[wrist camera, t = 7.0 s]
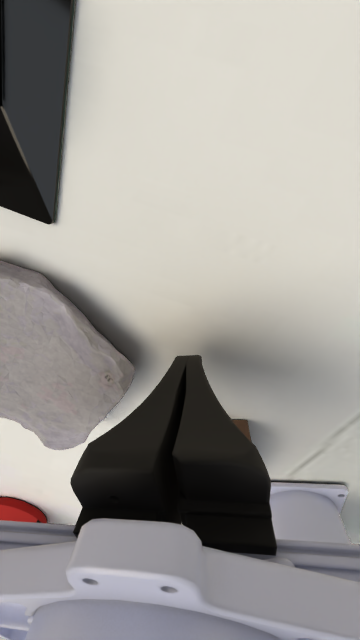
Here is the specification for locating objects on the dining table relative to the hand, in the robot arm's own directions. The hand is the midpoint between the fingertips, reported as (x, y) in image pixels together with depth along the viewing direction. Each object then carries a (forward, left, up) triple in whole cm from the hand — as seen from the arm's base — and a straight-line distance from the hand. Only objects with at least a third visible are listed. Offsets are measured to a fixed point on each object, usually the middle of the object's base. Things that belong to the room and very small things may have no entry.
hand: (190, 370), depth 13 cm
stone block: (+1, +10, -3) cm, 10 cm away
